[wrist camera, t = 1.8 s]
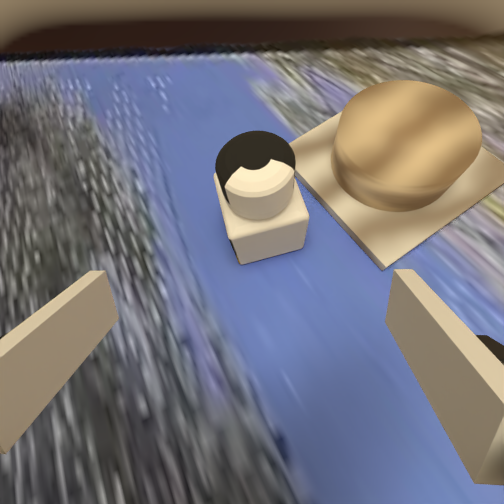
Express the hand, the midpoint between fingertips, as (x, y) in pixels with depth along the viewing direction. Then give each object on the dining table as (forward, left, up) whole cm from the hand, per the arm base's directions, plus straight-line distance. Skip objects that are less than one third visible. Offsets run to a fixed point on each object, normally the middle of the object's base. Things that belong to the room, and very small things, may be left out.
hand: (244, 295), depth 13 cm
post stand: (-7, +22, -16) cm, 28 cm away
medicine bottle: (-9, +6, -16) cm, 19 cm away
